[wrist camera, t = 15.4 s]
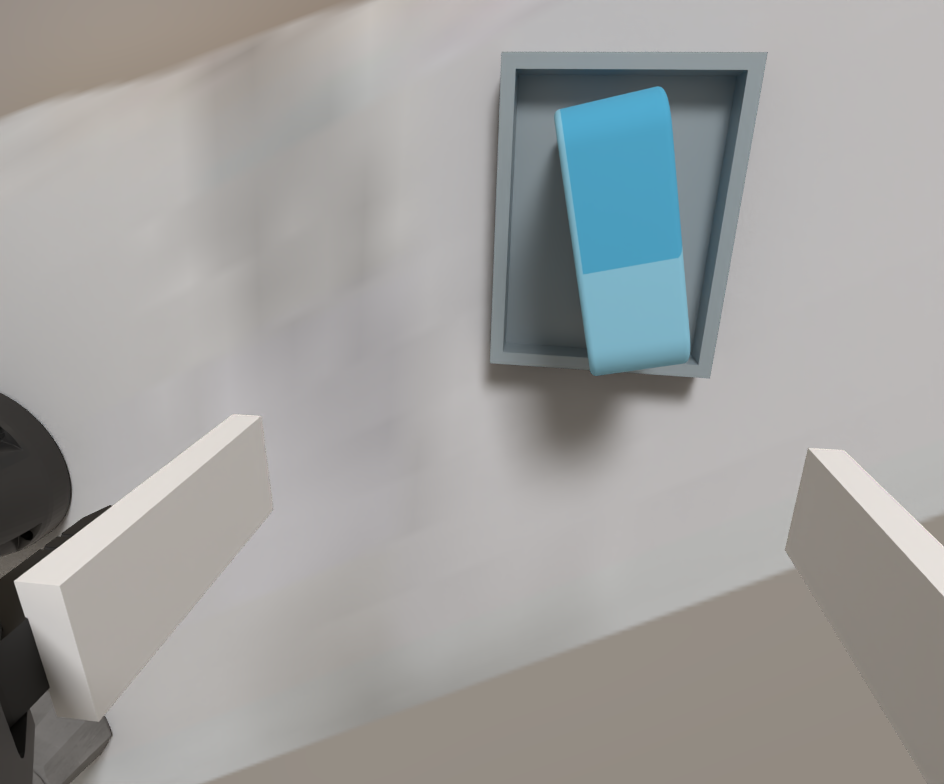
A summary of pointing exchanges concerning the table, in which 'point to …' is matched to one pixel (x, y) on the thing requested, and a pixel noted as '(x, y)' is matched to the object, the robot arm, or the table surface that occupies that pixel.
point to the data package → (625, 230)
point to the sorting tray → (544, 206)
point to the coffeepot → (64, 743)
